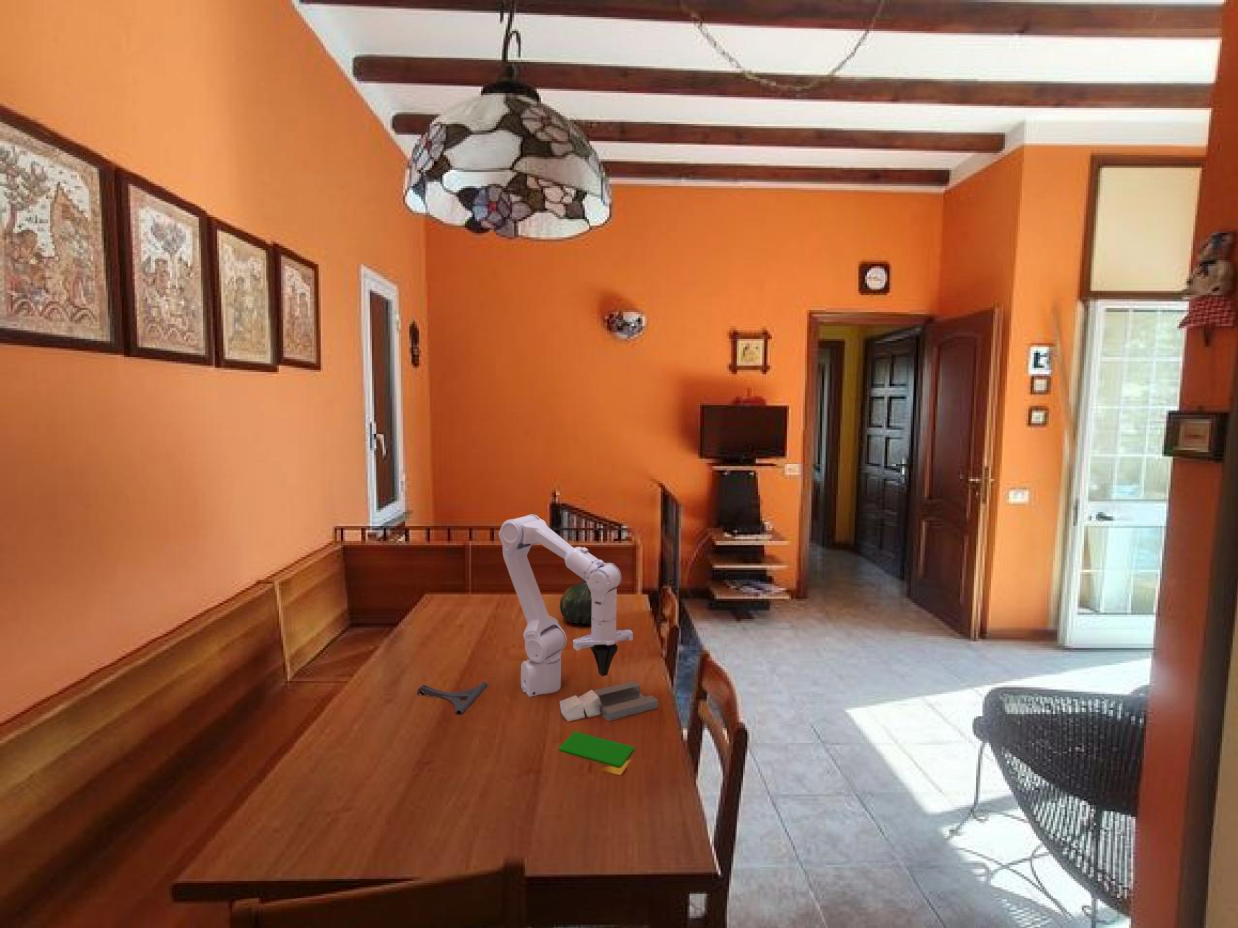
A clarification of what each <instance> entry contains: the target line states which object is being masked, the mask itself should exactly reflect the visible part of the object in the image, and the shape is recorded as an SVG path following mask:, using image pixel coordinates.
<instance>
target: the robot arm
mask: <svg viewBox="0 0 1238 928" xmlns="http://www.w3.org/2000/svg"><path fill="white" fill-rule="evenodd" d="M498 536H499V539H500V543H501V545H502V556H503V557H502V558H503V561H504V563H505V567H506V568H507V571H508V575H509V576H510V579H511V582H512V585H513V588H514V591H515V593H516V595H517V599H518V602H519V603H520V606H521V609H522V610H521V611H523V615H524V618H525V621H526V627H525V629H524V631H523V634H522V636H523V639H524V649H525V650H524V651H525V653H526V655H527V657H528V659H527V660H524V661H522V662H521V664H520V687H521V689H522V691H523V693H526V695H527V696H528V697H529V698H530V697H534V696H538V695H549V694H553V693H556V692H558V691H559V690H560V689H561V687H562V678H561V677H562V654H563V649H565V647H566V646H567V641H568V640H567V639H568V638H567V635H566V632H565V631H564V629H563V628H562V627H561V625H560V624H559V622H558V620H557V618H555V617H553V616H551V615H549V613H548V610H547V606H546V604H545V601H544V599H543V597H542V593H541V591H540V588H539V584H538V583H537V581H536V577H535V574H534V572H533V568H532V567H531V564H530V560H529V559H528V554H529V552H530V549H531V547H532V546H533V545H534V544H538V545H542V546H543V547H544V548H546V549H548V551H550V552H552V553H554V554H556V555H557V556H559V557H560V558H562V559H564V563H565V566H566V568H567V569H569V570H570V571H571V572H573V573H574V574H575V575H577V576H579V577H580V578H581V579H582V580H583V581H586V582H587V585H588V588H589V589H590V591H591V598H592V617H591V625H590V626H591V629H590V630H591V632H590V633H589V634H587V635H584V636H582V637H578V638H575V639H573V640H572V648H573V649H574V650H575V651H577V652H578V651H581V649H582V650H583V649H586V648H590V650H591V652H592V653H593V656H594V659H595V663H596V666H597V671H598V674H599V675H600V676H601V677H605V676H608V673H609V670H610V667H611V664H612V661H613V659H614V657H615V655H616V653H617V652H618V648H619V647H618V645H617V644H616V643H618V642H624V641H629V642H630V641H633V640H634V632H633V631H632V630H631V629H624V630H623V629H622V630H618V629H617V602H618V601H617V595H618V594H617V587H618V586H619V585H620V584H621V582H622V573H621V571H620V569H619V567H617V565H615V563H612V562H607V563H606V562H604V561H603V560H602V559H599V558H598V557H596V556H594V555H593V554H591V553H590V552H589V549H588V548H586V547H585V546H584V547H581V546H576V547H573V546H572V545H571V544H569V542H567V541H566V540H565V539H563V538H562V537H561V536H560V535H559V534H558V533H556V532H555V531H554V530H552V529H551V528H550V527H549V526H548V525H547V522H546V521H545V520H543V519H541V518H540V517H539V516H538V515H537V514H533V513H531V514H528V515H525V516H521V517H516V518H512V519H507V520H505V521H503V523H502V525H501V527H500V530H499V532H498Z"/></svg>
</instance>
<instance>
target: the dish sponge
mask: <svg viewBox="0 0 1238 928" xmlns="http://www.w3.org/2000/svg"><path fill="white" fill-rule="evenodd" d="M634 750H635V747H634V746H631V745H628V744H623V743H620V742H617V741H612V740H610V739H609V740H608V739H605V738H601V737H598V736H593V735H589V734H586V733H581V732H578V731H574V732H573V733H572V734H570V735H569V737H567V739H566V740H565V741H563V743H562V744H561V745H560V746H559V747H558V751H559V752H561V753H562V752H563V753H565V754H570V755H573V756H577V757H579V758H584V759H588V760H591V761H595V762H598V763H601V764H605V765H608V766H605V767H602V768H601V767H600V768H598V770H600V771H603V772H607V773H611V774H613V775H614V774H615V775H617V776H621V775H622V774H623V773H624V771H625V770H626V769H627V767H628V766H629V764H630V763H631V762H632V760H633V758H631V759H628V758H629V757H630V756H631V754H632V753H633V752H634ZM625 768H626V769H625Z"/></svg>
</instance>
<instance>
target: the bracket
mask: <svg viewBox="0 0 1238 928" xmlns="http://www.w3.org/2000/svg"><path fill="white" fill-rule="evenodd" d="M487 687H488V683H487V681H483V682H481V684H479V685H477V686H475V687H473V688H469V689H466V690H462V691H453V692H448V691H443V690H439V689H436V688H433V687H430V686H428V685H425V684H422V685H421V686H420V687H419V688H418V689H417V691H416V693H417V695H418V694H423V692H424V694H423V695H429V696H428V697H433V696H436V697H435V698H441V699H445V700H446V701H449V702H450V703H451V704H452V705H453V706H454V709H455V710H454V711H455V712H456V713H455V715H458V714H459V713H460V715H461V714H462V715H464V713H465V712H466V711H467V710H468V709H469V708H470V706H471V705H473V703H475V700H477V698H479V696H480V695H481V694H482V693H483V692H484V691H485V689H486V688H487ZM423 695H422V696H423ZM462 700H463V701H464V702H463V701H462ZM467 708H468V709H467ZM466 709H467V710H466ZM465 710H466V711H465ZM458 711H460V712H459V713H458ZM464 711H465V712H464ZM457 713H458V714H457Z"/></svg>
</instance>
